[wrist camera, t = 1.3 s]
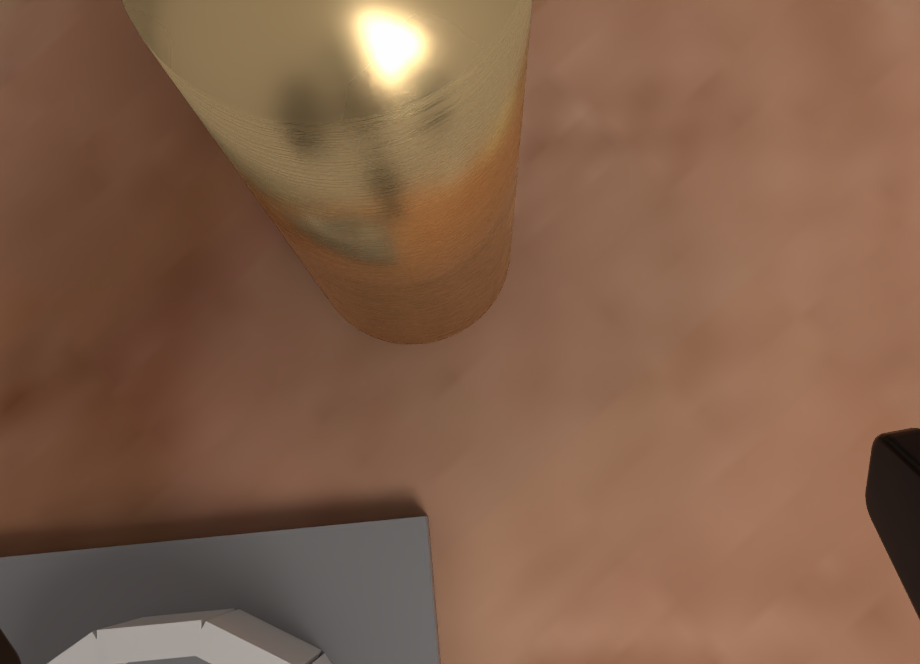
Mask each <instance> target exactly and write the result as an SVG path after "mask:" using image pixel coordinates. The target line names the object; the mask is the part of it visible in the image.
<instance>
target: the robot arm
mask: <svg viewBox="0 0 920 664" xmlns="http://www.w3.org/2000/svg"><path fill="white" fill-rule="evenodd" d="M865 497H866V505H867V509H868V512H869V515H870V518H871V520H872V522H873V524H874V526H875V528H876V530H877V532H878V534H879V537H880V539H881V541H882V543H883V545H884V547H885V549H886V551H887V553H888V555H889V557H890V559H891V561H892V563H893V566H894V568H895V570H896V572H897V574H898V576H899V578H900V580H901V582H902V584H903V586H904V588H905V590H906V592H907V594H908V597H909V599H910V601H911V603H912V605H913V607H914V609H915V611H916V613H917V615H918V617H919V619H920V429H919V428H909V429H904V430H898V431H893V432H888V433H883V434H880V435H879V436H877V437H876V438H875V440H874V442H873V445H872V449H871V456H870V464H869V471H868V478H867V485H866V494H865ZM0 664H21V661H20V658H19V656H18V654H17V652H16V650H15V649H14V648H13V646H12V645H11V643H10V642H9V640H8V639H7V637H6V636H5V634H4V633H3V631H2V630H1V628H0Z"/></svg>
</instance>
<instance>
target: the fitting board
mask: <svg viewBox="0 0 920 664" xmlns="http://www.w3.org/2000/svg"><path fill="white" fill-rule="evenodd" d="M0 628H1V630H2V631H3V633H4V634H5V636H6V637H7V639H8V640H9V642H10V643H11V645H12V646H13V648H14V649H15V650H16V652H17V654H18V656H19V658H20V661H21V664H441V662H440V650H439V638H438V626H437V614H436V603H435V591H434V579H433V567H432V556H431V544H430V532H429V520H428V516H422V517H411V518H401V519H391V520H381V521H370V522H360V523H350V524H339V525H329V526H319V527H308V528H298V529H288V530H277V531H267V532H257V533H246V534H236V535H226V536H215V537H205V538H195V539H185V540H174V541H164V542H154V543H143V544H133V545H123V546H112V547H102V548H92V549H81V550H71V551H61V552H50V553H40V554H30V555H19V556H9V557H0Z"/></svg>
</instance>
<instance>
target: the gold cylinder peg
mask: <svg viewBox="0 0 920 664" xmlns="http://www.w3.org/2000/svg"><path fill="white" fill-rule="evenodd" d="M122 2H123V4H124V7H125V9H126V12H127V14H128V16H129V18H130V19H131V21H132V23H133V24H134V26H135V28H136V29H137V31H138V33H139V34H140V36H141V38H142V39H143V40H144V42H145V43H146V45H147V46H148V47H149V49H150V50H151V52H152V53H153V54H154V56H155V57H156V59H157V60H158V61H159V63H160V64H161V66H162V67H163V68H164V70H165V71H166V73H167V74H168V75H169V77H170V78H171V79H172V81H173V82H174V84H175V85H176V86H177V88H178V89H179V91H180V92H181V93H182V95H183V96H184V98H185V99H186V100H187V102H188V103H189V105H190V106H191V107H192V109H193V110H194V112H195V113H196V114H197V116H198V117H199V119H200V120H201V121H202V123H203V124H204V126H205V127H206V128H207V130H208V131H209V133H210V134H211V135H212V137H213V138H214V140H215V141H216V142H217V144H218V145H219V147H220V148H221V149H222V151H223V152H224V154H225V155H226V156H227V158H228V159H229V161H230V162H231V163H232V165H233V166H234V167H235V169H236V170H237V172H238V173H239V174H240V176H241V177H242V179H243V180H244V181H245V183H246V184H247V186H248V187H249V188H250V190H251V191H252V193H253V194H254V195H255V197H256V198H257V200H258V201H259V202H260V204H261V205H262V207H263V208H264V209H265V211H266V212H267V214H268V215H269V216H270V218H271V219H272V221H273V222H274V223H275V225H276V226H277V228H278V229H279V230H280V232H281V233H282V235H283V236H284V237H285V239H286V240H287V242H288V243H289V244H290V246H291V247H292V249H293V250H294V251H295V253H296V254H297V256H298V257H299V258H300V260H301V261H302V262H303V264H304V265H305V267H306V268H307V269H308V271H309V272H310V274H311V275H312V276H313V278H314V279H315V281H316V282H317V283H318V285H319V286H320V288H321V289H322V290H323V292H324V293H325V295H326V296H327V297H328V299H329V300H330V302H331V303H332V304H333V306H334V307H335V308H336V309H337V311H338V312H339V313H340V314H341V315H342V316H343V317H344V318H345V319H346V320H347V321H348V322H349V323H351V324H352V325H354V326H355V327H356V328H358V329H359V330H361V331H363V332H365V333H367V334H368V335H370V336H373V337H376V338H378V339H381V340H384V341H388V342H393V343H400V344H423V343H429V342H435V341H438V340H442V339H445V338H448V337H450V336H452V335H455V334H457V333H459V332H461V331H462V330H464V329H465V328H467V327H469V326H470V325H471V324H473V323H474V322H475V321H476V320H478V319H479V318H480V317H481V316H482V315H483V314H484V313H485V312H486V311H487V310H488V309H489V307H490V306H491V305H492V303H493V302H494V300H495V299H496V298H497V296H498V294H499V292H500V290H501V288H502V286H503V284H504V281H505V278H506V276H507V271H508V267H509V261H510V251H511V239H512V228H513V217H514V205H515V194H516V182H517V171H518V160H519V148H520V137H521V126H522V114H523V103H524V91H525V80H526V69H527V57H528V46H529V34H530V23H531V12H532V0H122Z"/></svg>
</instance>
